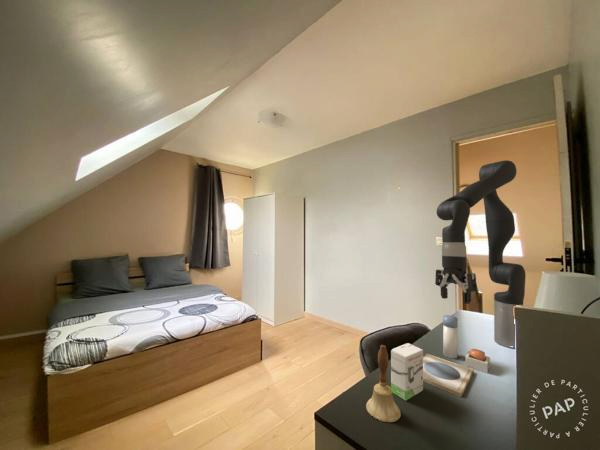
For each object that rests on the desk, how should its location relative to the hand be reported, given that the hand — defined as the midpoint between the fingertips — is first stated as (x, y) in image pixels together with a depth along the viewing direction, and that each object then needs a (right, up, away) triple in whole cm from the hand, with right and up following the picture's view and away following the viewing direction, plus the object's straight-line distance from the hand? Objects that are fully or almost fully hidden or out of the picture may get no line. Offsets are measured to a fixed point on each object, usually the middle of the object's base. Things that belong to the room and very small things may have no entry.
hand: (455, 300), depth 87 cm
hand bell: (-34, -20, -25) cm, 47 cm away
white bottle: (0, -21, +3) cm, 21 cm away
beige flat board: (-10, -21, -9) cm, 25 cm away
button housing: (+5, -21, -4) cm, 22 cm away
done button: (+5, -18, -4) cm, 19 cm away
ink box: (-25, -20, -18) cm, 37 cm away
